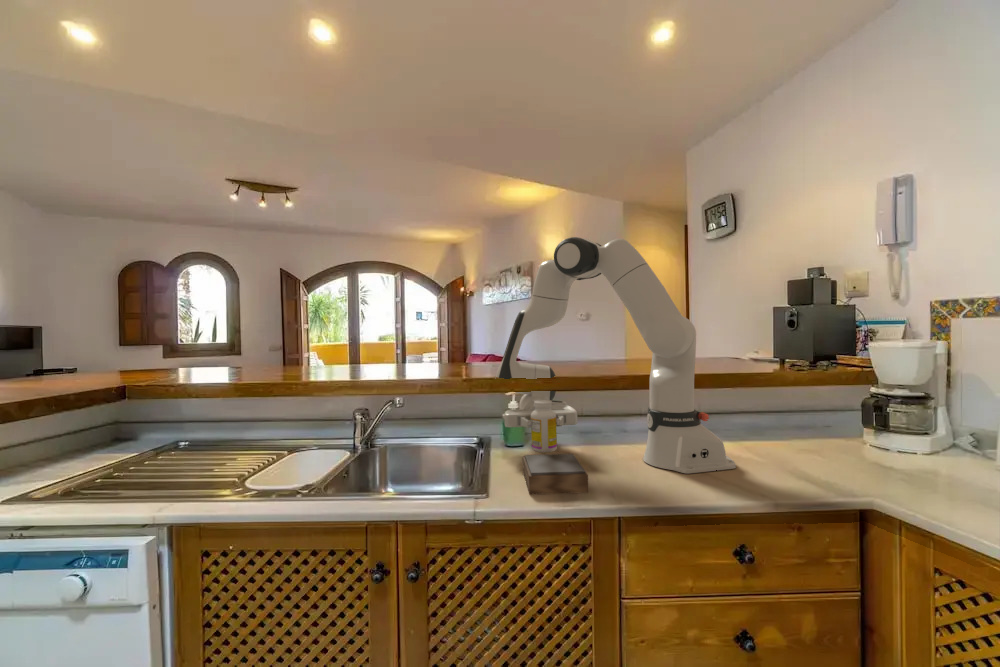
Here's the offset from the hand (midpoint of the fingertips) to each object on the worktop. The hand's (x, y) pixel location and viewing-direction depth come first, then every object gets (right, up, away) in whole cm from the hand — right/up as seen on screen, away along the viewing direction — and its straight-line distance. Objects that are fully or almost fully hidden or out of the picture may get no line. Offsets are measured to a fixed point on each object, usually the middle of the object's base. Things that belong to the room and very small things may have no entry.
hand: (544, 423), depth 119 cm
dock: (+1, -11, -13) cm, 17 cm away
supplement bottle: (0, -7, +1) cm, 7 cm away
